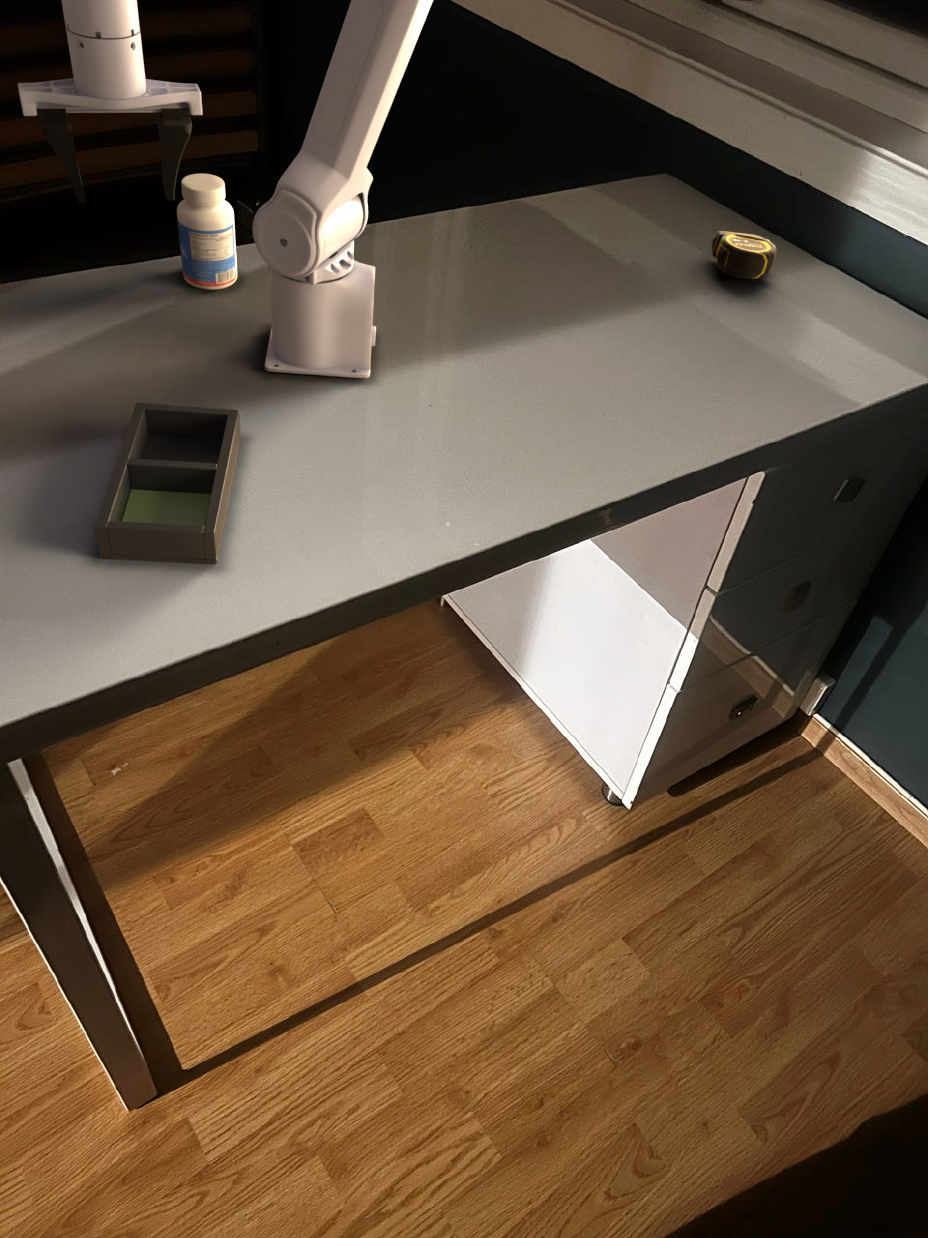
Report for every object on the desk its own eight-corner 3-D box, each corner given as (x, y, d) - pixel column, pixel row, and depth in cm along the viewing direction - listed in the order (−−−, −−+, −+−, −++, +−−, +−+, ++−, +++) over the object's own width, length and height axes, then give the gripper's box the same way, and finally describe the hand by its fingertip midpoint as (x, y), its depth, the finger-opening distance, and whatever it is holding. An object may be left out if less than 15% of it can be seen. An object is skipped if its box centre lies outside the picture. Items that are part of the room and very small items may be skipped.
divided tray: (241, 439, 81) (239, 409, 79) (217, 564, 70) (214, 533, 68) (140, 432, 80) (136, 402, 78) (100, 558, 69) (94, 527, 67)
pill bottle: (186, 263, 101) (177, 167, 94) (239, 267, 102) (234, 171, 95) (180, 289, 97) (170, 190, 90) (235, 293, 98) (229, 195, 91)
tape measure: (763, 262, 117) (773, 232, 115) (772, 289, 112) (783, 257, 110) (707, 255, 117) (716, 224, 114) (714, 281, 112) (724, 249, 110)
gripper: (187, 15, 84) (199, 176, 93) (4, 10, 79) (37, 180, 89) (200, 41, 79) (212, 208, 89) (7, 38, 75) (42, 214, 84)
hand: (125, 197), depth 89 cm, fingers open, 7 cm apart
